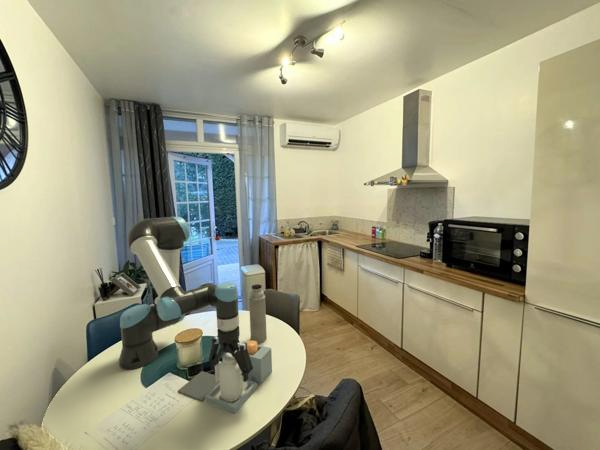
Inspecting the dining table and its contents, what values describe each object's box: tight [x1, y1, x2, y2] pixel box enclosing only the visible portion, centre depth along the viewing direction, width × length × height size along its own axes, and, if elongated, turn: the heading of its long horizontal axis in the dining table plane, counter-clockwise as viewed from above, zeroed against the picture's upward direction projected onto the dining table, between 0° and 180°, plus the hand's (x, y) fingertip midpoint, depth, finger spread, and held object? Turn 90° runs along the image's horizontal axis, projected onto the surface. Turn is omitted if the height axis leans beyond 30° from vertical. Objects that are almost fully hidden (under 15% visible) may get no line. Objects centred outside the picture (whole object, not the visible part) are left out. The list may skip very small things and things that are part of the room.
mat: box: [177, 370, 220, 402], centre depth 101 cm, size 12×12×1 cm
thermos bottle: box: [248, 284, 268, 344], centre depth 132 cm, size 8×8×28 cm
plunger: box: [245, 340, 258, 355], centre depth 107 cm, size 5×5×7 cm
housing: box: [204, 341, 273, 414], centre depth 100 cm, size 14×24×10 cm, turn 156°
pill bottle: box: [219, 352, 244, 403], centre depth 95 cm, size 8×8×15 cm
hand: (231, 384), depth 95 cm, fingers open, 11 cm apart
